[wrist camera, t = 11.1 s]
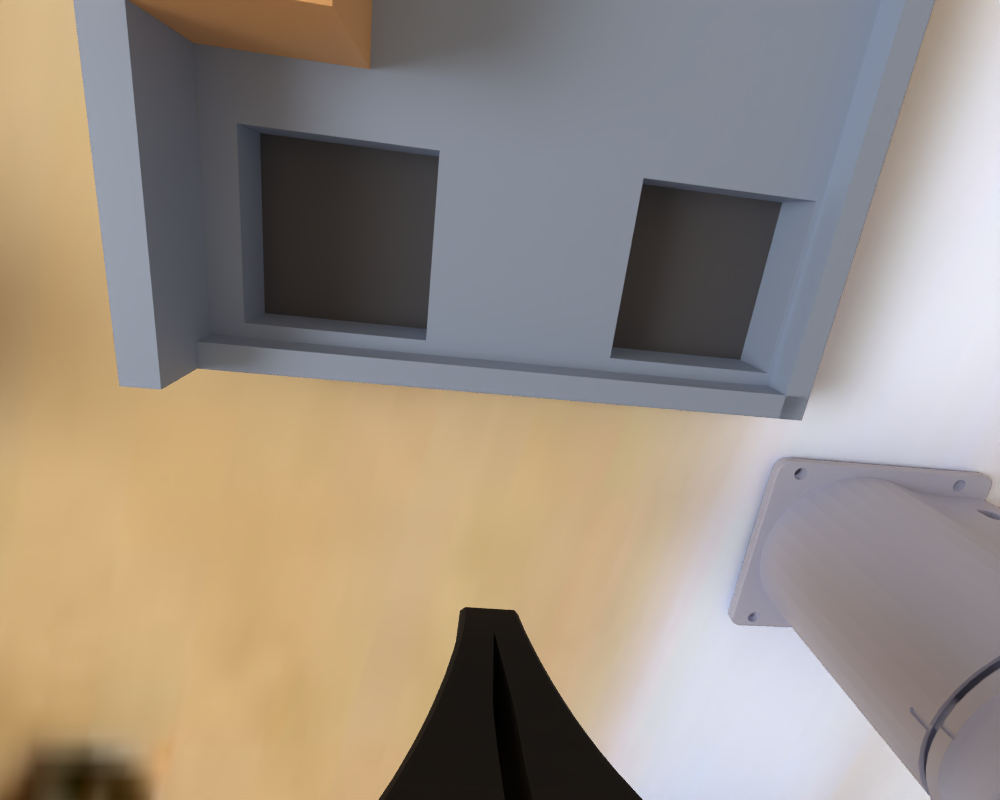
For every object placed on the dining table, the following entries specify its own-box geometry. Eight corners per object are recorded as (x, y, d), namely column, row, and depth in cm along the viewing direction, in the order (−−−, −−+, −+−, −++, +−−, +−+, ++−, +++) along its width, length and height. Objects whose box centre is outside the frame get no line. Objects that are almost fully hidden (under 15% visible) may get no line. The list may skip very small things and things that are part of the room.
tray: (889, -90, 16) (1076, -223, 11) (753, 392, 20) (843, 444, 16) (171, -235, 13) (16, -479, 9) (207, 342, 18) (119, 385, 13)
